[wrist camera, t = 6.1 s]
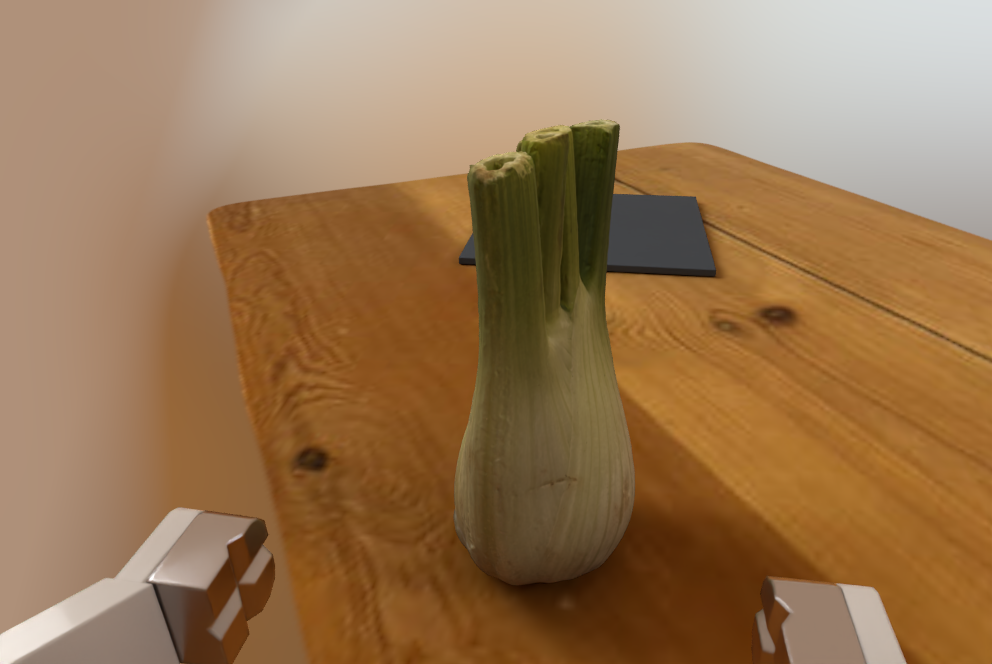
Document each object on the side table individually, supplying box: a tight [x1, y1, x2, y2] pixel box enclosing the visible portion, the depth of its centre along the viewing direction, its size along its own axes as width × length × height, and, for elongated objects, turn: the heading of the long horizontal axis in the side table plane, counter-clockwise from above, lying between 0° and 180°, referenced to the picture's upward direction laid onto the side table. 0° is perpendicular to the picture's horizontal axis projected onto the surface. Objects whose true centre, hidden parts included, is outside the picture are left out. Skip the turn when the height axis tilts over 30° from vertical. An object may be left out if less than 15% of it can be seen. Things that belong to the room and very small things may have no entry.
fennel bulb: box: [454, 119, 635, 585], centre depth 18 cm, size 6×5×12 cm
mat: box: [459, 194, 716, 276], centre depth 44 cm, size 14×13×1 cm
